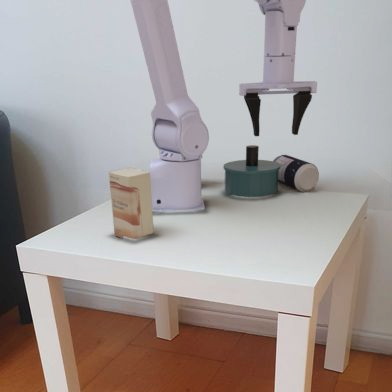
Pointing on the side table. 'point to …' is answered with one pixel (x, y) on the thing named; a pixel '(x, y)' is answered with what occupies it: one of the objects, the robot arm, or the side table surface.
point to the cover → (252, 163)
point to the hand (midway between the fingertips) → (275, 134)
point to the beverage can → (297, 173)
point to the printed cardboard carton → (131, 202)
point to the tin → (251, 184)
